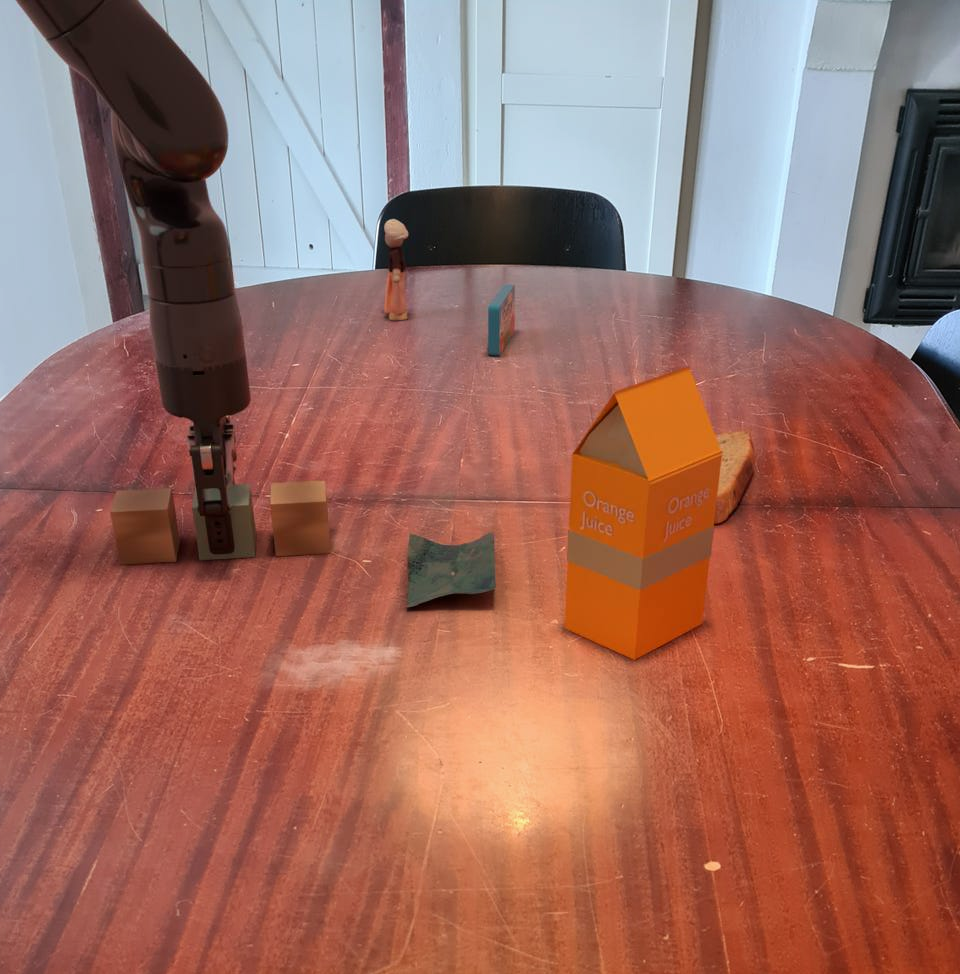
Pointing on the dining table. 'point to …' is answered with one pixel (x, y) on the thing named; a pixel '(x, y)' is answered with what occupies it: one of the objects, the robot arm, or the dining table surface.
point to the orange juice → (642, 517)
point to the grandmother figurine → (395, 271)
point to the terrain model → (449, 568)
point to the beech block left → (145, 526)
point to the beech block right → (300, 518)
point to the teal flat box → (501, 319)
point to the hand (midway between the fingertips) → (224, 533)
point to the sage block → (240, 523)
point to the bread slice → (733, 471)
